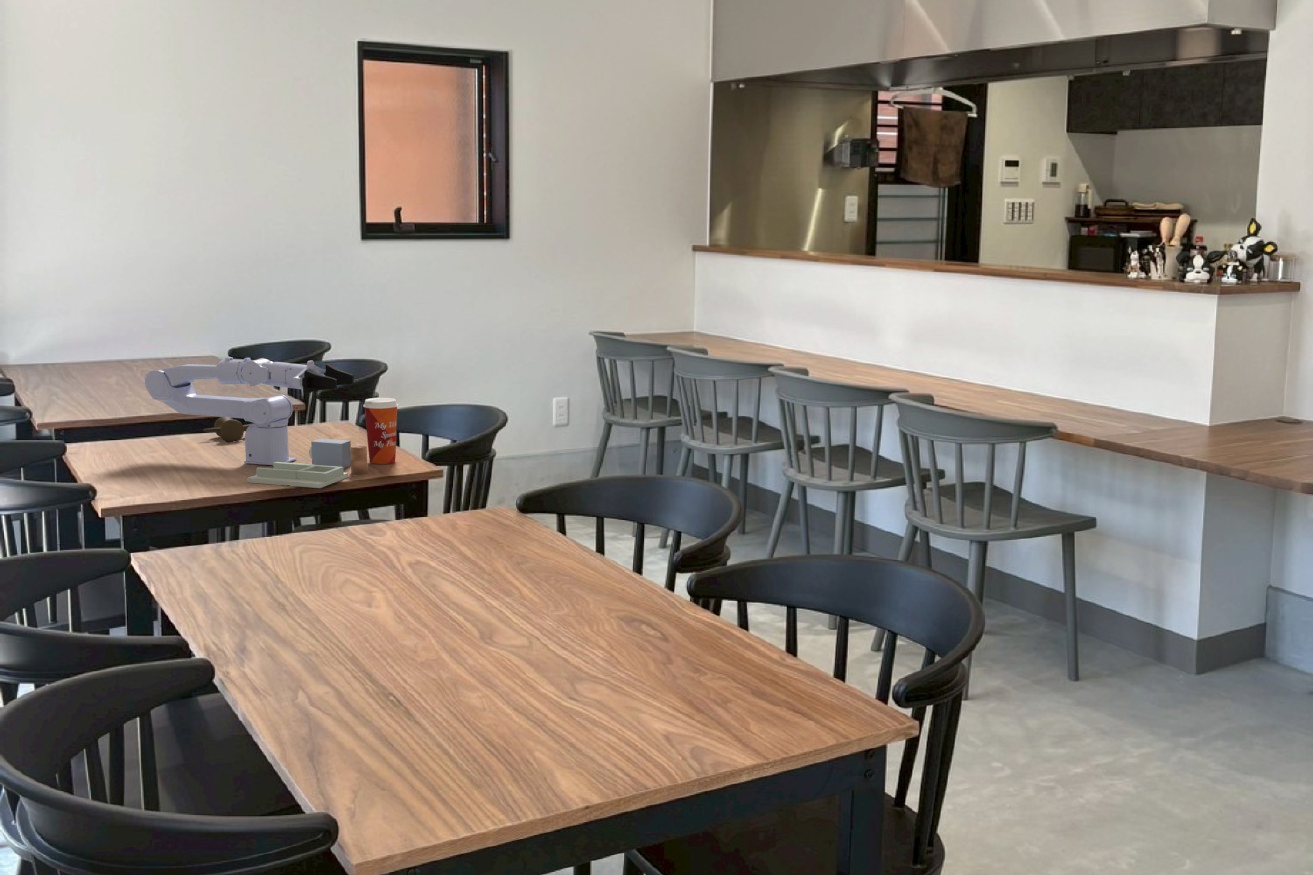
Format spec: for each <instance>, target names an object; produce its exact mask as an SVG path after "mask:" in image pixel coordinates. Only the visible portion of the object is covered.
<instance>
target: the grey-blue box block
mask: <svg viewBox="0 0 1313 875" xmlns="http://www.w3.org/2000/svg"><path fill="white" fill-rule="evenodd" d="M310 443H311V444H310V445H311V446H310V448H309V451H308V455H309V458H310V459H311V464H314V465H324V466H337V467H343V469H346V468H348V467H351V466H350V465H351V451H350V447H352V446H351V445H352V444H351V443H352V442H351V440H345V439H344V440H343V439H334V438H333V439H332V438H318V439H314V440H312V441H310ZM345 467H346V468H345Z"/></svg>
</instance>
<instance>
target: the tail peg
mask: <svg viewBox="0 0 1313 875" xmlns="http://www.w3.org/2000/svg"><path fill="white" fill-rule="evenodd" d="M367 450H368V446H366V445H353V446H351V447H350V451H351V466H350V472H351V475H358V476H359V475H365V474H368V454H367V453H368V452H367Z"/></svg>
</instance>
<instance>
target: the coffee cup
mask: <svg viewBox="0 0 1313 875" xmlns="http://www.w3.org/2000/svg"><path fill="white" fill-rule="evenodd" d="M362 407H363V408H364V415H365V426H366V428H365V429H366V439H367V450H368V459H369V463H370V464H371V465H390V464H394V463H395V462H396V456H397V455H396V452H397V428H398V426H397V423H398V407H399V403H398V402H397V399H396V398H392V397H372V398H366V399H365V400H364V403H363V405H362Z"/></svg>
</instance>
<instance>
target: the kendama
mask: <svg viewBox="0 0 1313 875" xmlns="http://www.w3.org/2000/svg"><path fill="white" fill-rule="evenodd" d="M253 424H254V423H253V422H252V423H248V424H242V422H241V421H239V420H237V419H234V418H231V417H219V418H217V419H216V420H215V421H214V426H213V427H211V428H210V427H209V428H203V429H202V431H203V432H214V433H215V434H216V436H217V437H220V438H221V439H222V440H223V441H225V442H227V443H234V442H233V441H237V442H239V441H240V440H241V439H242V438H243V437H244V435H245V434H244V432H246V430H247V428H248V427H249V426H250V425H253Z"/></svg>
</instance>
